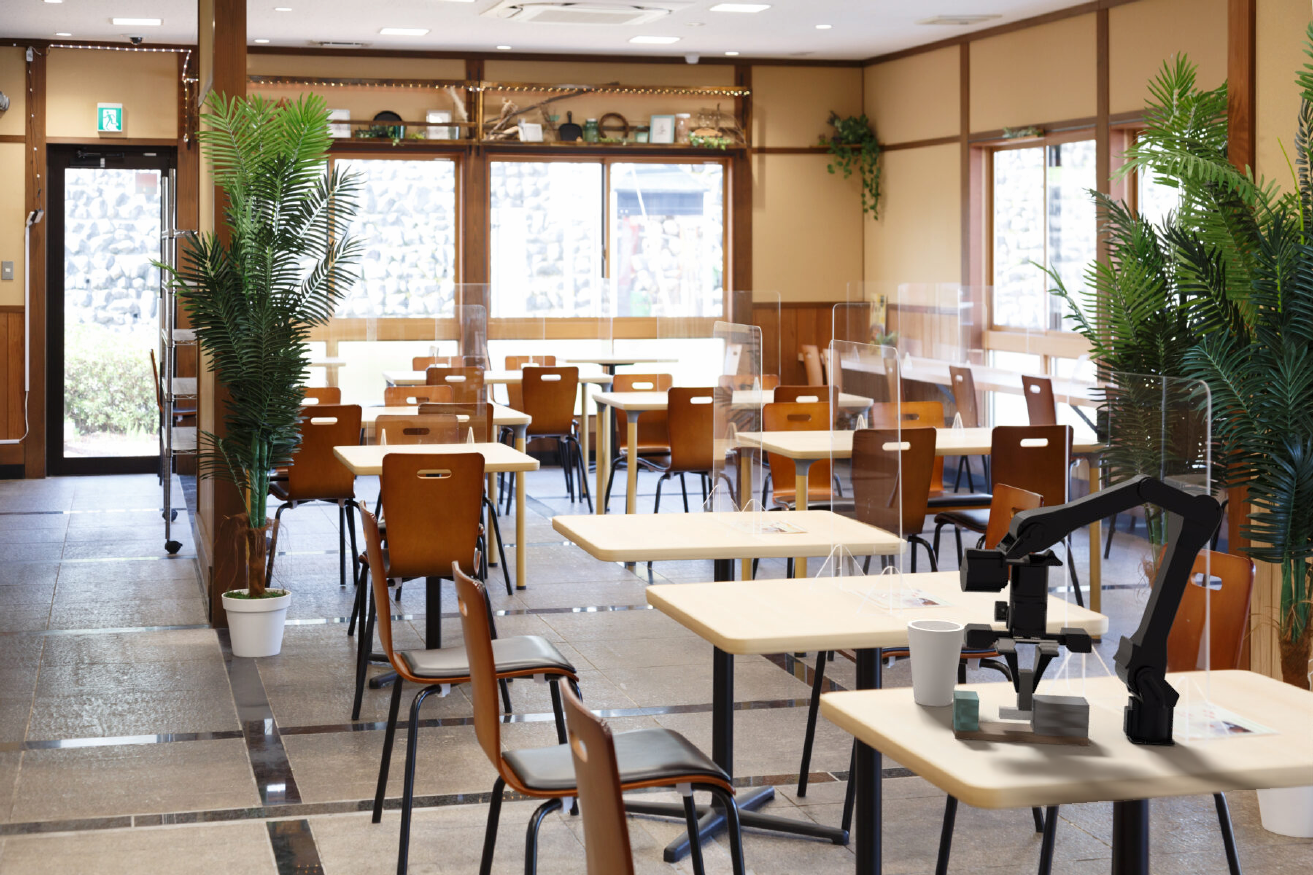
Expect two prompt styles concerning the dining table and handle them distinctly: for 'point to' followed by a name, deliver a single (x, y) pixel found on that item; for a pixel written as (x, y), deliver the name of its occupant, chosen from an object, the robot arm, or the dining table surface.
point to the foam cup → (934, 659)
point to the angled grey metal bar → (1021, 699)
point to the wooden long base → (1051, 723)
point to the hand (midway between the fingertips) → (1024, 692)
